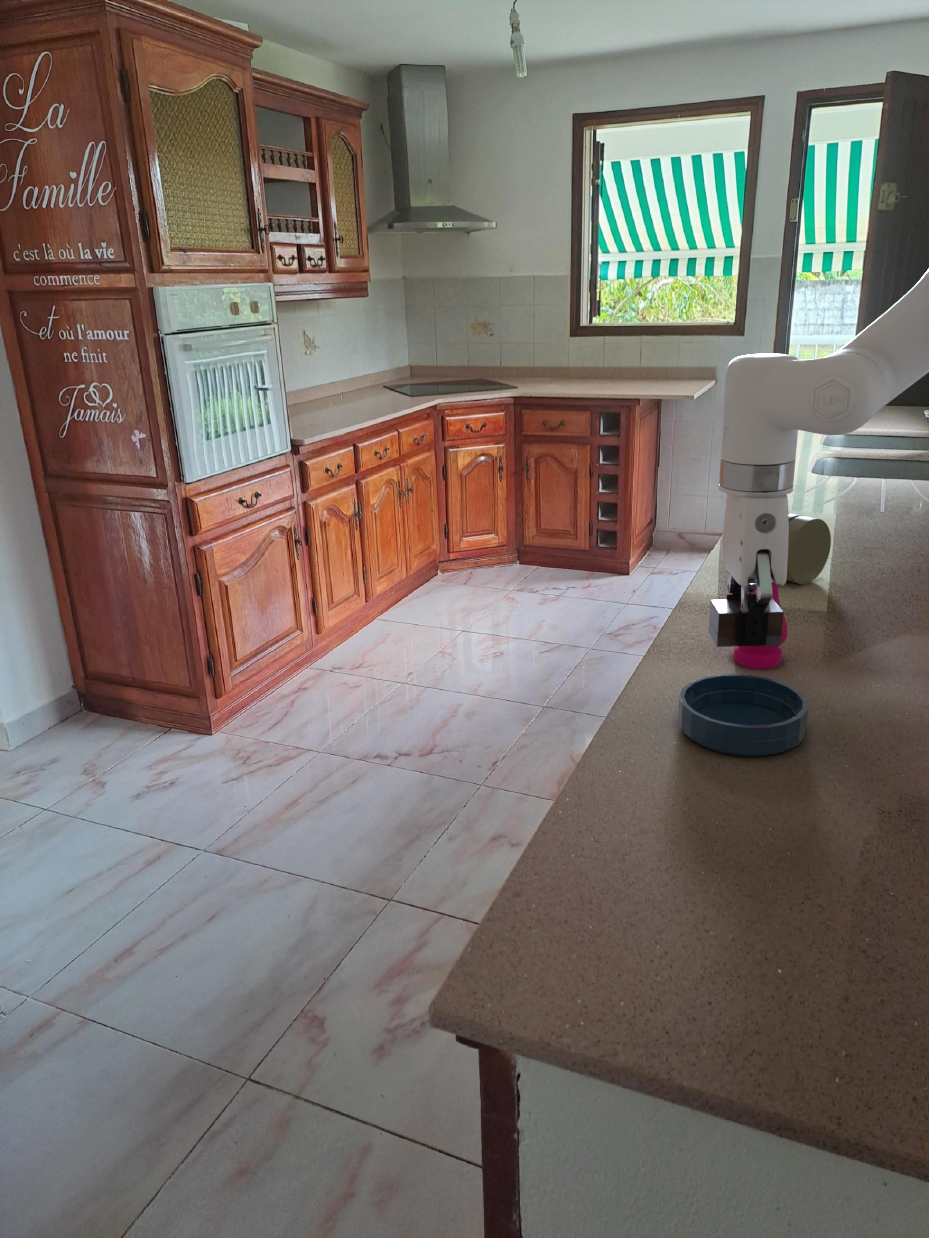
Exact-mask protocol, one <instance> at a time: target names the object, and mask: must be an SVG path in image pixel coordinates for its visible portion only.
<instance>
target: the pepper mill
mask: <svg viewBox="0 0 929 1238" xmlns="http://www.w3.org/2000/svg"><path fill="white" fill-rule="evenodd" d="M788 555H789V546H788ZM755 583H756V579H755ZM771 583H772V592H773V596H772V598H773V599H774V600H775V602H776V603H777V604H778V605H779V607H780V608H781V609H782V610H783V608H782V605H781V602H780V597H779V586H777V585H776V584H775V583H774V582H773V580H772V579H771ZM755 592H756V590H754V591H753V593H749V594H756V593H755ZM787 637H788V624H787V619H786V617H785V615H784V618H783V629H782V640H781V645H783V643H785V642H786V640H787ZM781 645H779V646H734V649H733V650H734V651H733V660H734V661H735V663H736V664H738V665H740V666H742V667H744V668H748V669H753V670H770V669H774V668H777V667H778V666H779V665H781V663H782V657H783V656H782V655H783V649H782V647H780V646H781Z"/></svg>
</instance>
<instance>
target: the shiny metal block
mask: <svg viewBox="0 0 929 1238" xmlns="http://www.w3.org/2000/svg"><path fill="white" fill-rule="evenodd" d="M709 604H710V605H709V619H708V620H709V621H708V622H709V623H708V633H709V635H710V637H711V639H712V641H713V642H714V644H715V646H716V647H717V648H723V647H724V648H726V647H727V648H729V647H735V646H738V645H737V643H736V629H737V615H738V611H740V610H741V599H726V598H725V599H710V603H709ZM781 608H782V607H781ZM781 608H780V607H779V605H778V604H777V603H776V602H775V600H774V599H773V598H772V599H771V600H770V608H769V616H768V628H767V640H766V644H765V645H763V646H779V645H780V646H782V644H781V640H782V629H783V618H784V616H785V611H784V610H783V608H782V609H781ZM780 646H779V647H780Z"/></svg>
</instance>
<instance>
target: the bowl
mask: <svg viewBox="0 0 929 1238" xmlns="http://www.w3.org/2000/svg"><path fill="white" fill-rule="evenodd" d="M808 708H809V701H808V700H807V699H806V697H805V696H804V694H803V693H802V692H800V691H799V690H798V689H796V688H794V687H793V686H792V685H790V684H788V683H785V682H782V681H779V680H777V679H773V678H769V677H764V676H760V675H753V674H743V673H719V674H712V675H706V676H703V677H702V676H701V677H700V678H696V679H694V680H691V681H689V682H688V683H687V684H685V686H682V688H681V690H680V693H679V695H678V715H677V717H678V718H677V719H678V720H677V721H678V726H679V728H680V730H681V732H682V733H683V734H684V735H686V736H687V737H688V738H689V739H690V740H692V741H694V742H695V743H697V744H698V745H700V746H702V747H704V748H706V749H709V750H712V751H714V752H717V753H722V754H726V755H732V756H737V757H765V756H771V755H772V756H773V755H777V754H781V753H783V752H786V751H788V750H790V749H792V748H794V747H796V746H798V745H799V744H800V743H801V742H802V741H803V740H804V739H805V738H806V734H807V723H808V721H807V720H808V712H809V711H808V710H809V709H808Z"/></svg>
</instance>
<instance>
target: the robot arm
mask: <svg viewBox="0 0 929 1238" xmlns="http://www.w3.org/2000/svg"><path fill="white" fill-rule="evenodd" d="M725 370H726V371H725V378H724V396H723V411H722V412H723V413H722V428H721V431H722V432H721V449H720V464H719V483H718V490H719V491H720V492H721V493H724V494H726V498H725V508H724V516H723V527H722V528H723V529H722V541H721V542H722V543H721V544H722V545H721V553H722V554H721V557H722V563H723V565H724V568H725V569H726V570H727V572H728V579H727V585H726V591H727V594H726V598H725V599H741V610H740V611H738V615H737V629H736V643H737V645H738V646H763V645H765V644H766V640H767V628H768V616H769V608H770V600H771V599H772V596H773V592H772V583H771V579H772V580H773V582H774V583H775V584H776V585H777V586H778V588H779V587H781V588H782V587H783V586H784V585H786V583H787V561H788V535H789V514H788V513H789V500H788V499H789V498H788V495H789V494H791V493H793V491H794V481H795V471H796V470H795V469H796V458H797V449H798V434H799V431H800V432H801V431H803V432H807V433H812V434H817V435H825V436H842V435H847V434H850V433H853V432H855V431H857V430H859V429H860V428H862V427H863V426H864V425H866V424H867V423H868V422H869V421H870V420H871V419H872V418H873V417H874V415H875V414H876V413H878V412H879V411H880V410H881V409H883V408H884V407H885V406H886V405H888V404H889V403H890V402H892V401H893V400H894V399H895V398H897V397H898V396H899V395H900V394H902V393H903V392H904V391H906V390H907V389H909V388H910V387H911V386H912V385H914V384H915V383H916V382H918V381H919V380H920V379H922V378H923V377H925V376H926V375H927V374H928V373H929V268H928V269H927V271H926V272H925V273H924V274H923V275H922V277H921V278H920V279H919V281H917V282H916V284H914V286H913V287H912V288H911V289H910V290H908V291H907V292H906V294H904V295H903V296H902V297H901V298H900V299H899V300H898V301H897V302H895V303H894V304H893V305H892V306H891V307H890V308H889V309H888V310H886V311H885V312H884V313H882V314H881V315H880V316H879V317H878V318H877V319H875V320H874V321H873V322H872V323H871V324H869V325H868V326H867V327H866V328H865V329H863V330H862V331H861V332H859V333H858V334H857V335H856V336H855V337H853V338H852V339H851V340H850V341H849V342H847V343H846V344H845V345H843V346H842V347H841V348H839V350H837V351H836V352H833V353H831V354H829V355H827V356H822V357H818V358H809V359H808V358H807V359H799V358H798V357H797V356H794V355H791V354H784V353H754V354H753V353H752V354H746V355H745V354H744V355H740V356H737V357H735V358H733V359H732V360H730V362H729V363H728V365H727V367H726V369H725ZM755 579H756V583H755ZM754 590H756V592H755V593H756V594H749V593H753V591H754Z"/></svg>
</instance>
